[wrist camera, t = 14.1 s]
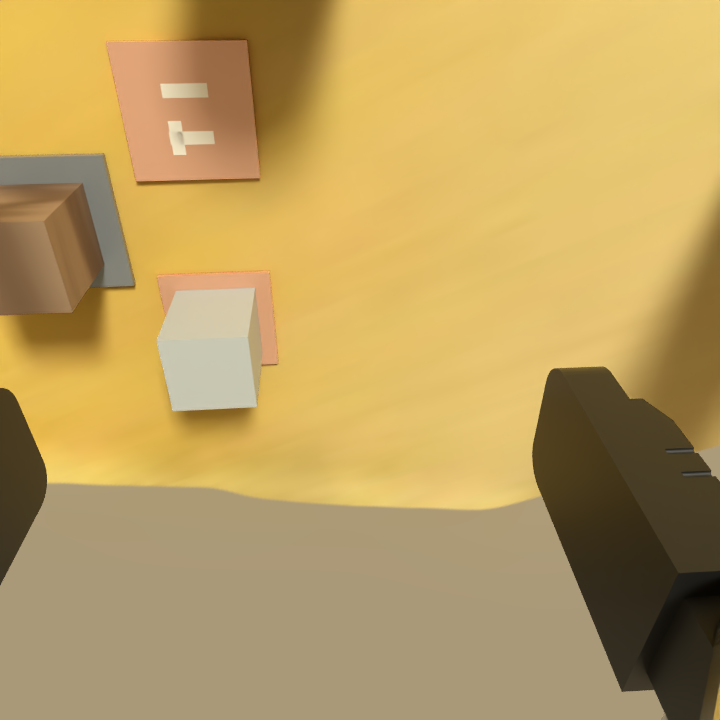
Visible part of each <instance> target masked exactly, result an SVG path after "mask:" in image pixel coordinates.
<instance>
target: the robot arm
mask: <svg viewBox="0 0 720 720" xmlns="http://www.w3.org/2000/svg"><path fill="white" fill-rule="evenodd" d="M693 449H694V447H693V446H692V445H691V443H690V442H689V441H688V439H687V438H686V437H685V435H684V434H683V433H682V432H681V430H680V429H679V428H678V426H677V425H676V424H675V422H674V421H673V420H672V419H670V418H669V417H667V416H666V415H664V414H663V413H662V412H660V411H659V410H657V409H656V408H655V407H653V406H652V405H650V404H649V403H648V402H646V401H645V400H643V399H629V397H628V396H627V395H626V393H625V392H624V390H623V389H622V387H621V386H620V385H619V383H618V382H617V380H616V379H615V377H614V376H613V375H612V373H611V372H610V371H609V370H608V369H607V368H605V367H581V368H555V369H552V370H551V371H550V373H549V375H548V377H547V381H546V385H545V390H544V395H543V399H542V404H541V409H540V414H539V419H538V423H537V428H536V433H535V438H534V443H533V452H532V458H533V469H534V474H535V479H536V482H537V485H538V488H539V490H540V492H541V495H542V497H543V500H544V502H545V505H546V507H547V509H548V512H549V514H550V517H551V519H552V522H553V524H554V527H555V529H556V531H557V534H558V536H559V539H560V541H561V544H562V546H563V549H564V551H565V554H566V556H567V558H568V561H569V563H570V566H571V568H572V571H573V573H574V576H575V578H576V580H577V583H578V585H579V588H580V590H581V593H582V595H583V598H584V600H585V602H586V605H587V607H588V610H589V612H590V615H591V617H592V620H593V622H594V624H595V627H596V629H597V632H598V634H599V637H600V639H601V642H602V644H603V647H604V649H605V651H606V654H607V656H608V659H609V661H610V664H611V666H612V668H613V671H614V673H615V676H616V678H617V681H618V683H619V686H620V688H621V690H622V692H623V691H640V690H655V692H656V694H657V697H658V699H659V701H660V703H661V706H662V708H663V710H664V712H665V714H664V716H663V717H662V719H661V720H720V481H719V480H718V479H717V478H716V477H715V476H714V477H712V476H711V470H710V468H709V467H708V466H707V464H706V463H705V462H704V460H703V459H702V458H701V457H700V455H699V454H698V453H694V450H693ZM46 487H47V474H46V468H45V464H44V461H43V459H42V457H41V454H40V452H39V450H38V447H37V445H36V443H35V441H34V438H33V436H32V434H31V431H30V429H29V427H28V424H27V422H26V420H25V417H24V415H23V413H22V410H21V408H20V406H19V404H18V401H17V399H16V397H15V396H14V395H13V393H12V392H10V391H9V390H7V389H5V388H0V585H1V582H2V581H3V579H4V577H5V575H6V573H7V571H8V569H9V567H10V565H11V563H12V562H13V560H14V558H15V556H16V554H17V552H18V550H19V548H20V546H21V544H22V542H23V540H24V538H25V537H26V535H27V533H28V531H29V529H30V527H31V525H32V523H33V521H34V519H35V517H36V515H37V514H38V512H39V510H40V508H41V506H42V503H43V501H44V498H45V493H46Z"/></svg>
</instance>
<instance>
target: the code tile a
mask: <svg viewBox="0 0 720 720" xmlns="http://www.w3.org/2000/svg"><path fill="white" fill-rule="evenodd" d="M106 45H107V49H108V54H109V58H110V63H111V68H112V72H113V77H114V81H115V86H116V91H117V95H118V100H119V104H120V109H121V114H122V118H123V123H124V127H125V132H126V137H127V141H128V146H129V150H130V155H131V160H132V164H133V169H134V174H135V178H136V181H168V180H206V179H244V178H260V167H259V157H258V146H257V136H256V126H255V116H254V105H253V95H252V85H251V75H250V64H249V54H248V44H247V40H188V41H107V42H106Z"/></svg>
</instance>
